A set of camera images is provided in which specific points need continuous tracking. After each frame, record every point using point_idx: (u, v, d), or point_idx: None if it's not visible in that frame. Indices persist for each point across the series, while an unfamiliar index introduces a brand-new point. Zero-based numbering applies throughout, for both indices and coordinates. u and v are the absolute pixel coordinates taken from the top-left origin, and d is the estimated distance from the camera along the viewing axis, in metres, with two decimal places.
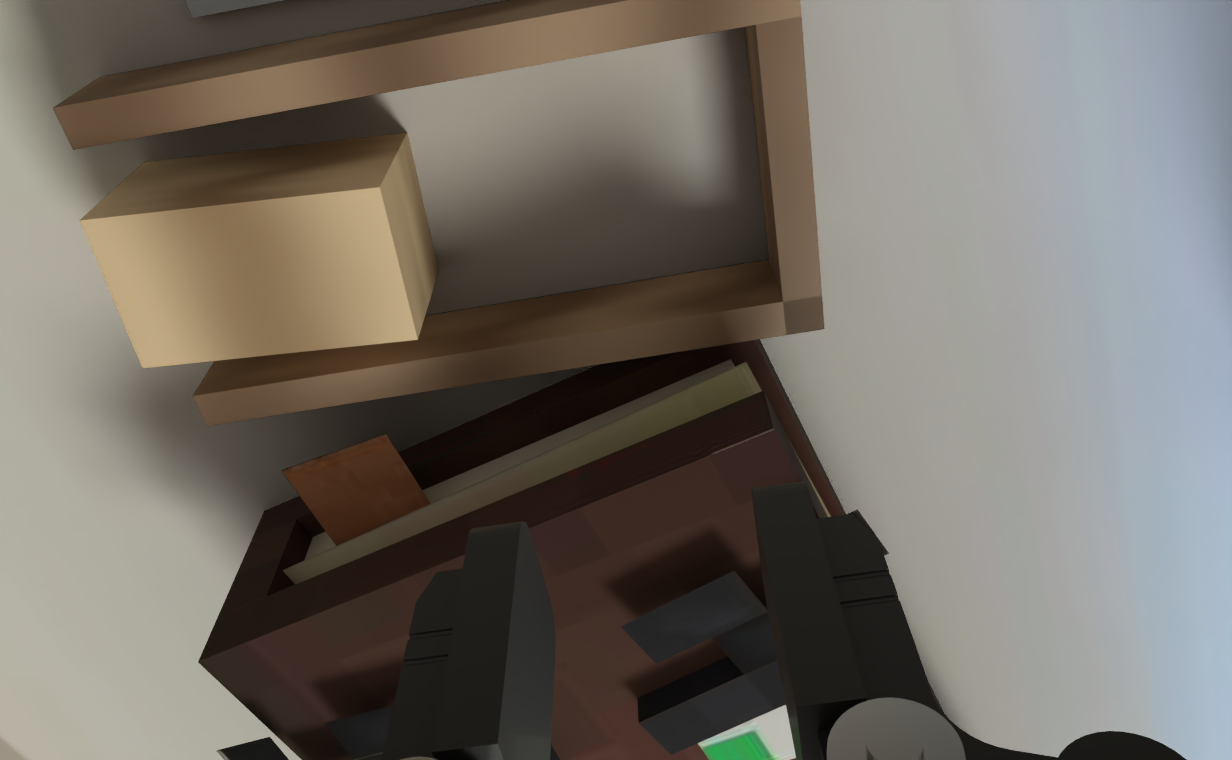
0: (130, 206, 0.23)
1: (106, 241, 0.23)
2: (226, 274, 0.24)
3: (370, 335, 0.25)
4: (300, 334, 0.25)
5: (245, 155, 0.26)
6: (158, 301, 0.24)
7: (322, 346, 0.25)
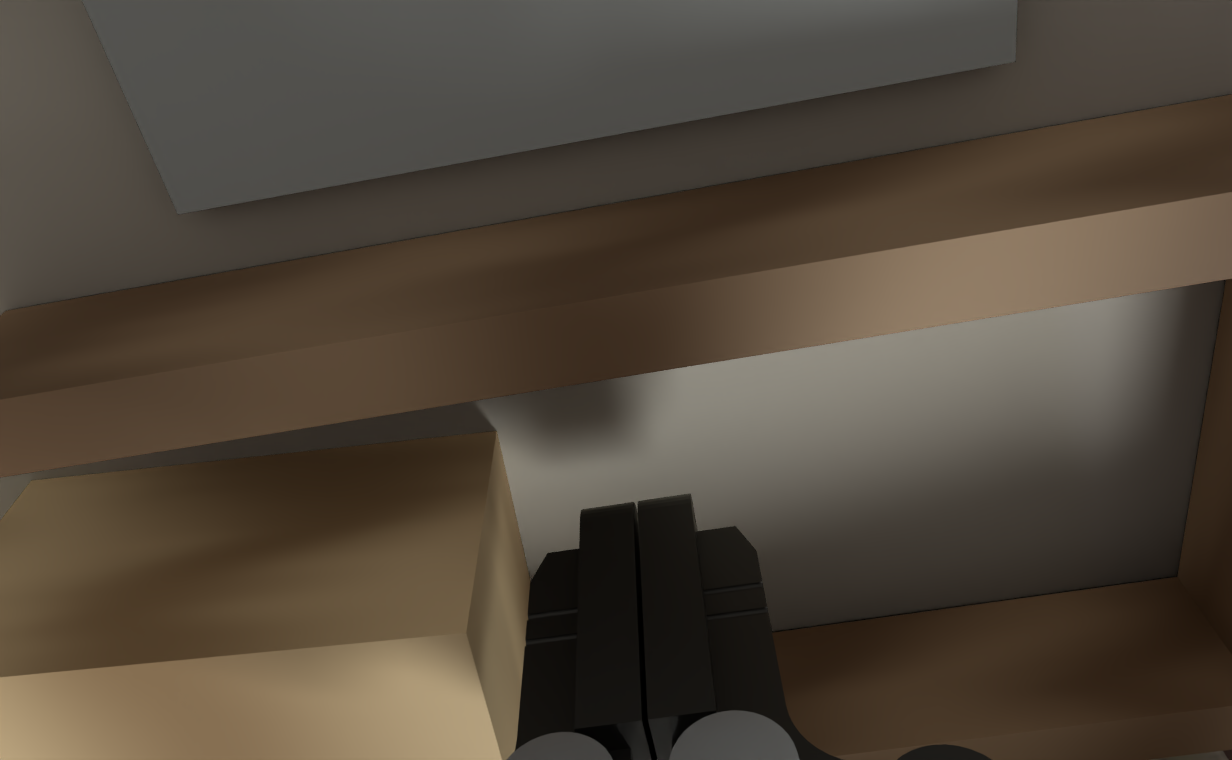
0: None
1: None
2: None
3: None
4: None
5: (207, 480, 0.14)
6: None
7: None
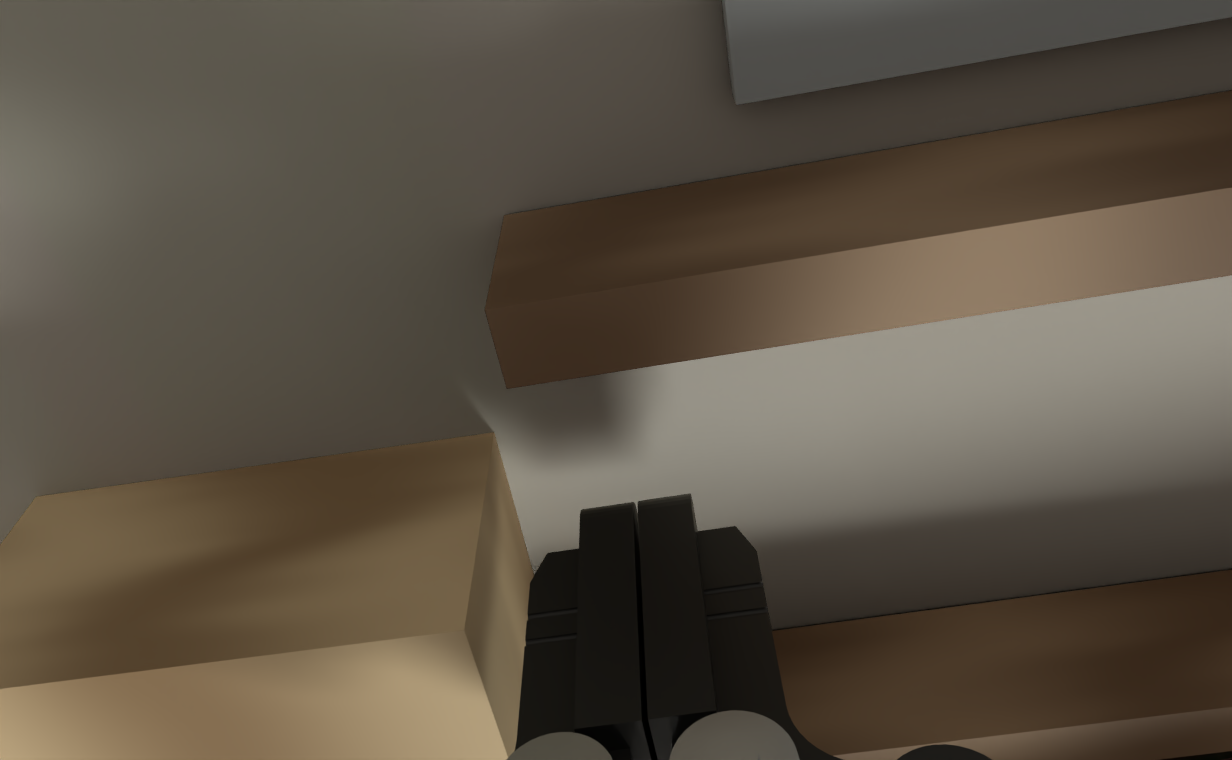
0: None
1: None
2: None
3: None
4: None
5: (209, 487, 0.14)
6: None
7: None
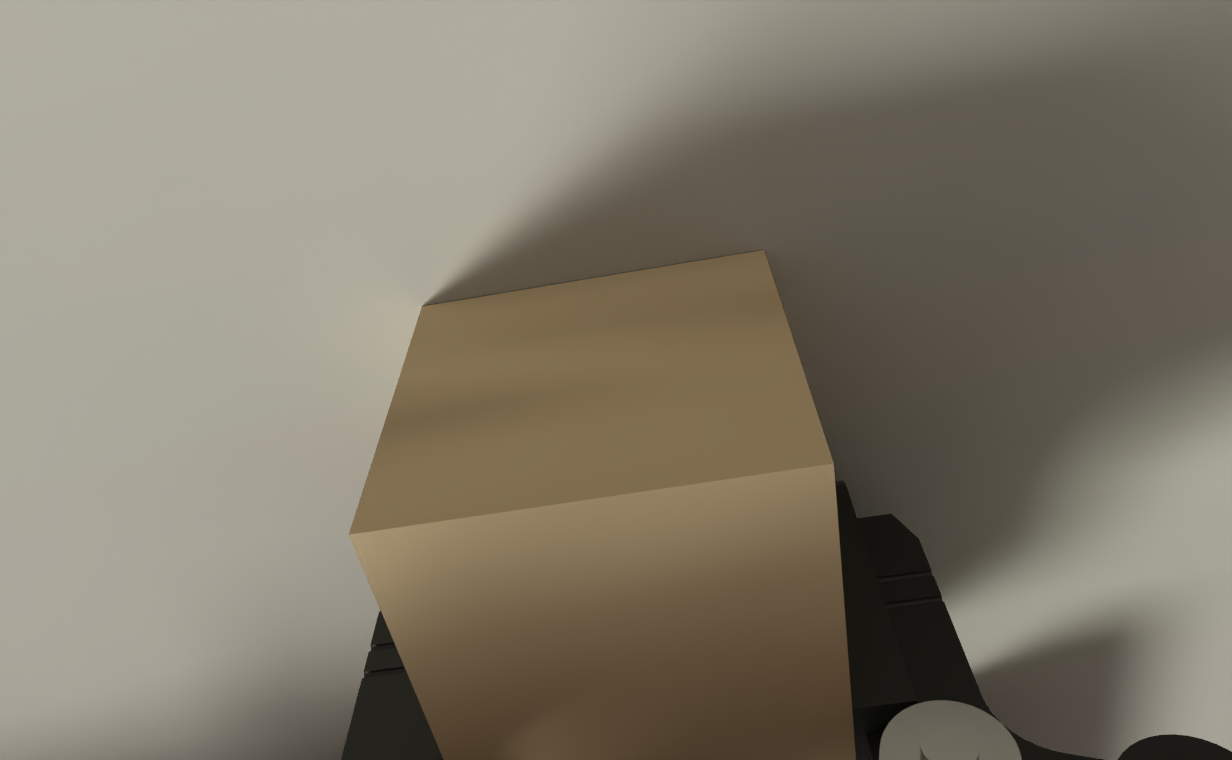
0: None
1: (767, 514, 0.08)
2: (671, 727, 0.10)
3: None
4: None
5: None
6: (583, 598, 0.09)
7: None
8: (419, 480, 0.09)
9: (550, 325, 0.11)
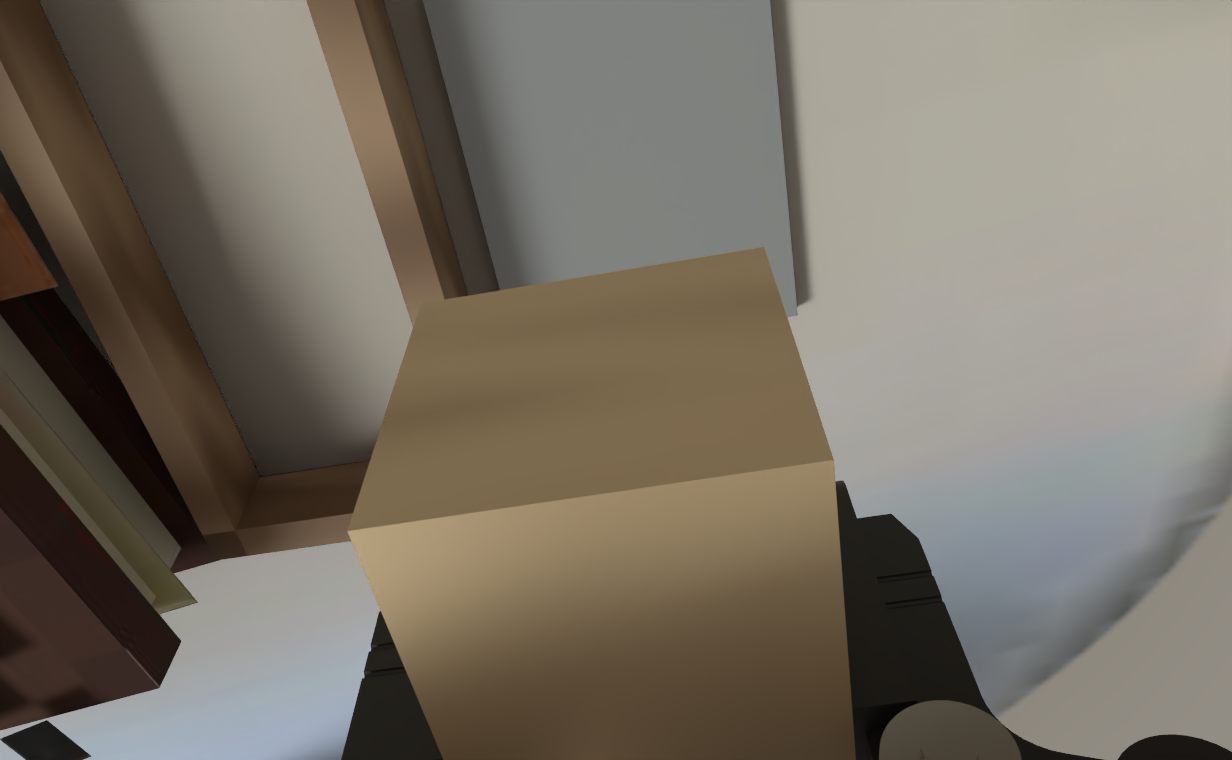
0: None
1: (767, 510, 0.08)
2: (670, 725, 0.10)
3: None
4: None
5: None
6: (583, 593, 0.09)
7: None
8: (418, 476, 0.09)
9: (550, 322, 0.11)
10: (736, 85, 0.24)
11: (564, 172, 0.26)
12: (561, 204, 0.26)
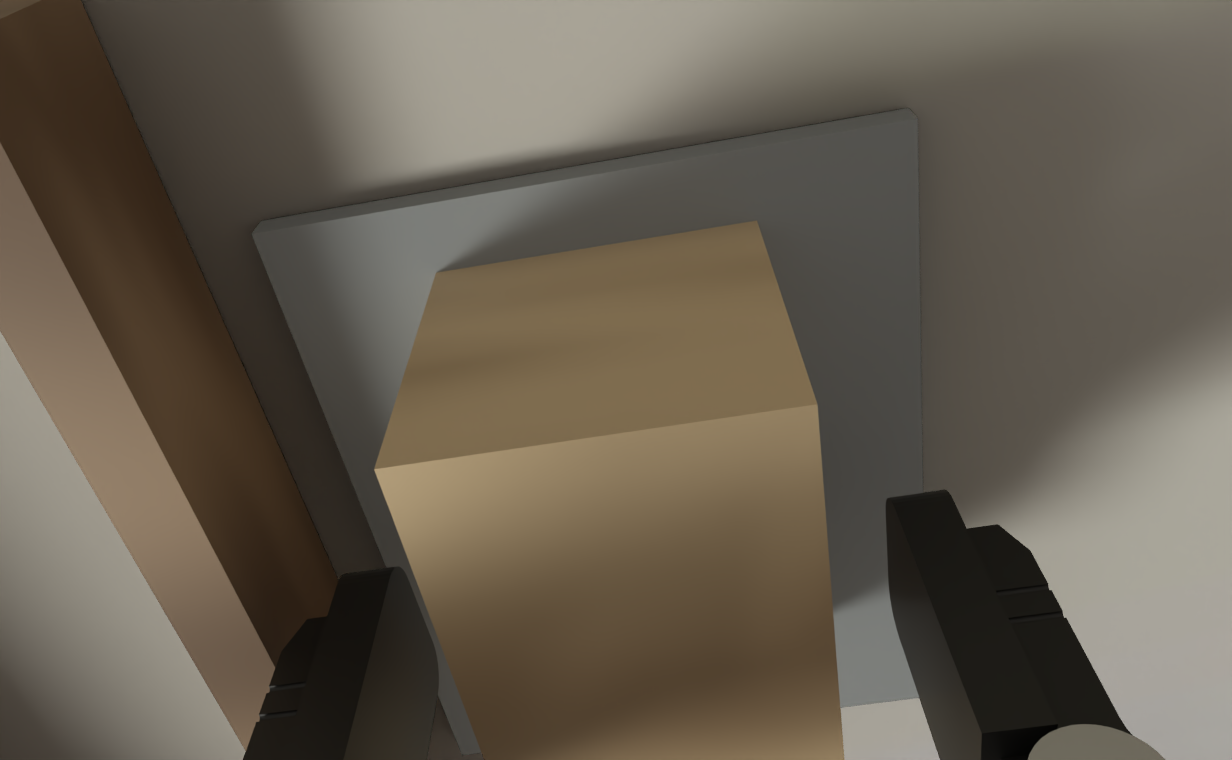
0: None
1: (756, 452, 0.09)
2: (667, 656, 0.10)
3: None
4: (528, 754, 0.11)
5: None
6: (588, 530, 0.09)
7: None
8: (438, 422, 0.09)
9: (557, 289, 0.11)
10: (846, 373, 0.13)
11: None
12: None
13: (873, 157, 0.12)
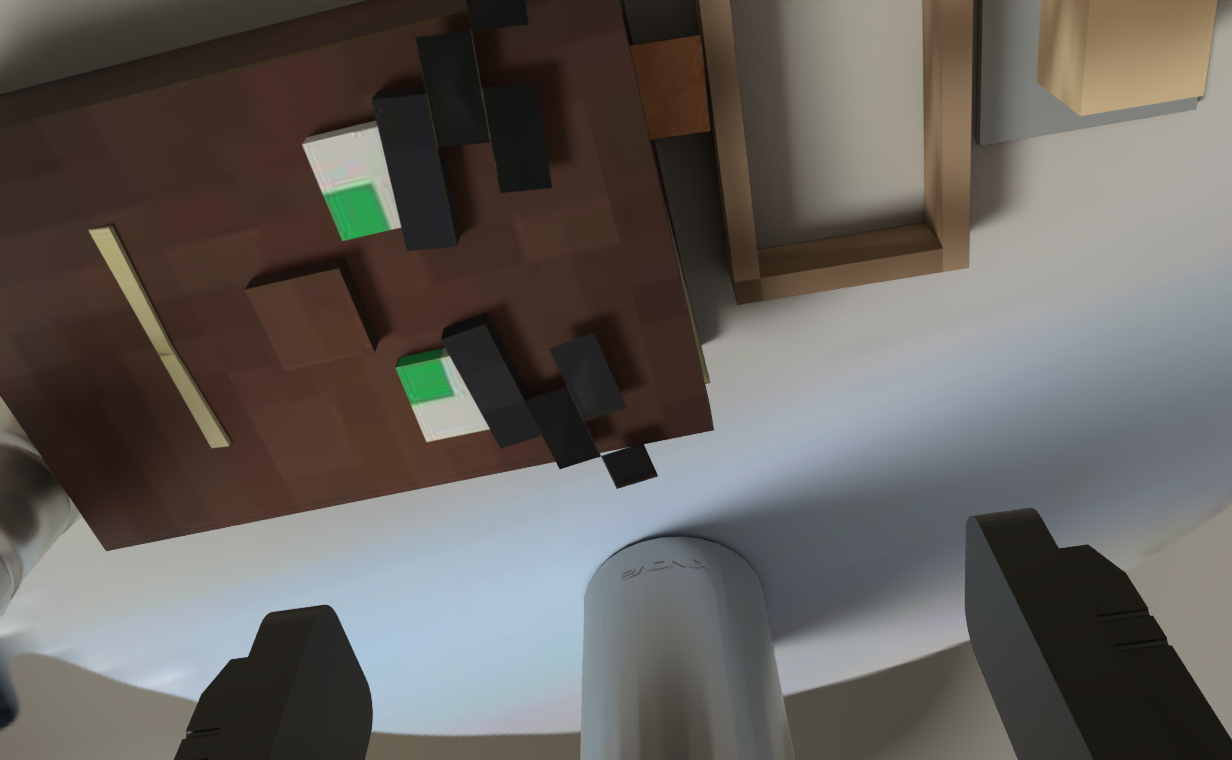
0: None
1: None
2: None
3: (1090, 81, 0.33)
4: (1103, 27, 0.32)
5: None
6: None
7: (1089, 44, 0.32)
8: None
9: None
10: None
11: None
12: None
13: None
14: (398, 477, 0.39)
